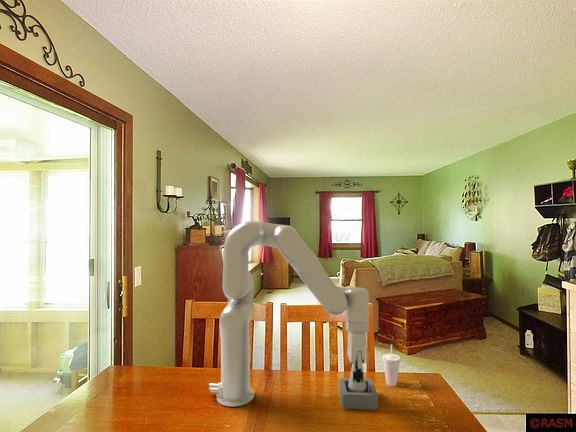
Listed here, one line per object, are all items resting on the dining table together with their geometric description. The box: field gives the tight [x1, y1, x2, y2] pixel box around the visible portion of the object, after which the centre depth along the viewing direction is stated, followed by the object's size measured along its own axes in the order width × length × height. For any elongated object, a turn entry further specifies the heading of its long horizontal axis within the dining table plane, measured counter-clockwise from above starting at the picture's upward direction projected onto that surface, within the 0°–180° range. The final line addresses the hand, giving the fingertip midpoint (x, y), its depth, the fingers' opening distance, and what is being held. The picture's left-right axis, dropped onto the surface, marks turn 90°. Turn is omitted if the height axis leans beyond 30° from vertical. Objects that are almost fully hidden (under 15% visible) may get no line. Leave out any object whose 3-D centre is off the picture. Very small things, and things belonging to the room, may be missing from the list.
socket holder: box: [338, 377, 379, 410], centre depth 115 cm, size 11×11×4 cm
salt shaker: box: [348, 361, 366, 393], centre depth 115 cm, size 6×6×13 cm
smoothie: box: [381, 343, 401, 387], centre depth 126 cm, size 6×6×14 cm
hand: (357, 380), depth 115 cm, fingers closed on salt shaker, 3 cm apart
